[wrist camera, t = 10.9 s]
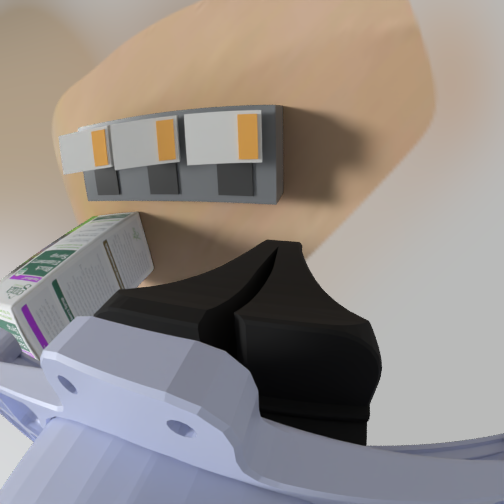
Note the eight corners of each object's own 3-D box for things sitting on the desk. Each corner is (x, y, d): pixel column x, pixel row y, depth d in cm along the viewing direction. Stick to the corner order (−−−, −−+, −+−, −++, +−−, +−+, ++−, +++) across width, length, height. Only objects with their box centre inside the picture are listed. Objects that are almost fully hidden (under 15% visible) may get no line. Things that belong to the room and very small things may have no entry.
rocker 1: (118, 163, 19) (111, 167, 18) (71, 170, 19) (62, 175, 18) (114, 124, 18) (106, 125, 17) (67, 134, 18) (57, 136, 17)
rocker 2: (180, 158, 18) (179, 162, 17) (119, 166, 18) (114, 170, 16) (177, 115, 17) (176, 115, 16) (115, 124, 16) (109, 125, 15)
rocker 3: (262, 159, 17) (262, 162, 16) (192, 161, 17) (186, 165, 16) (261, 110, 15) (260, 109, 14) (189, 113, 16) (183, 114, 14)
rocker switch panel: (283, 191, 21) (274, 208, 18) (110, 190, 24) (82, 203, 21) (282, 105, 18) (273, 104, 15) (102, 123, 22) (71, 129, 19)
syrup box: (139, 209, 25) (6, 303, 12) (157, 270, 27) (54, 384, 14) (93, 215, 26) (-26, 295, 14) (111, 270, 29) (13, 363, 16)
